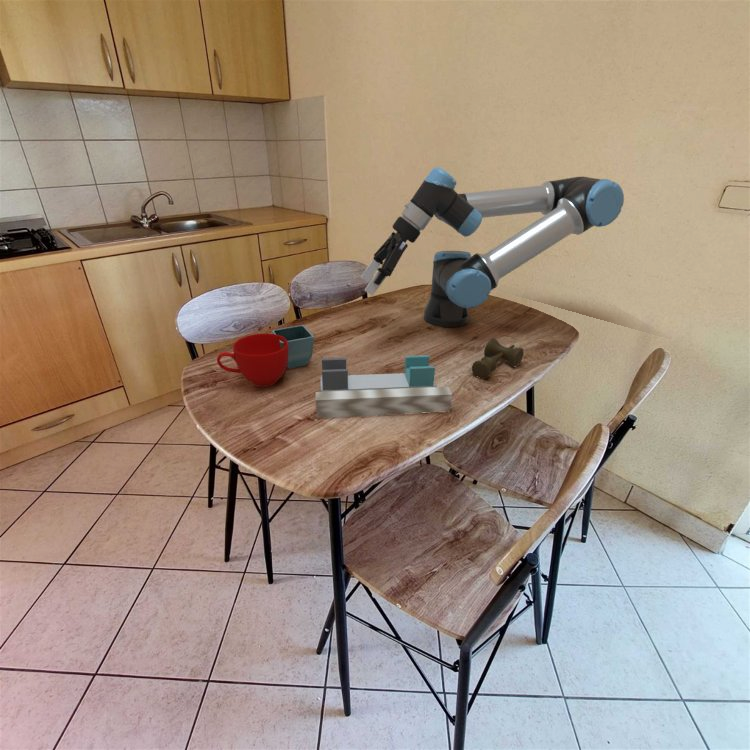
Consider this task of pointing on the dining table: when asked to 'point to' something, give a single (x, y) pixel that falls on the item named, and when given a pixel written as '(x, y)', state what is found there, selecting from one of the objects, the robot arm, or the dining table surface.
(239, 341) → the ceramic cup
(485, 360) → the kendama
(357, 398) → the grey white bar
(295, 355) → the flower pot
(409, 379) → the long grey teal holder
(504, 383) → the dining table surface
